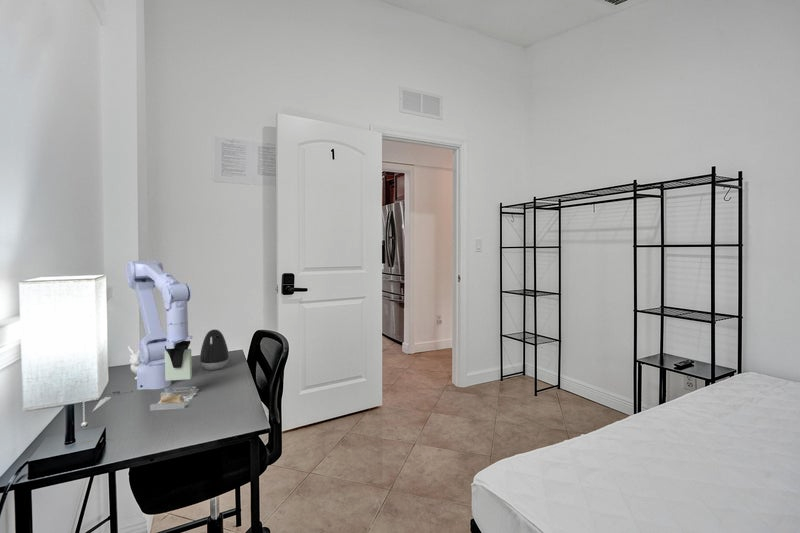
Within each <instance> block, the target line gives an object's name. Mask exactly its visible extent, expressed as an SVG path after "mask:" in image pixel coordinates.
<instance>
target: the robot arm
mask: <svg viewBox="0 0 800 533" xmlns="http://www.w3.org/2000/svg"><path fill="white" fill-rule="evenodd" d="M125 276H126V280H127V284H128V287H129V288H131V289H132V290H134V292H135V295H136V299H137V303H138V306H139V307H138V308H139V311H140V315H141V318H142V319H141V320H142V324H143V328H144V330H145V336H144V337H142V338H141V339H140V341H139V342H138V345H137V346H138V350H139V357H140V360H141V362H143V363H140V364H139V366H138V369H137V374H136V376H137V379H136V390H139V391H140V390H160V389H165V388H169V387H170V386H171V385H172V380H169V381H165V351H167V352H168V354H169V356H170V359H171V362H172V365H173V368H181V366H182V360H183V353H184V350H185V349H189V346H190V345H191V339H193V335H189V318H188V314H189V313H188V302H189V301H190V299H191V296H192V295H191V294H192V292H191V287H190V285H189V284H188V282H180V281H178V280H177V279H176V278H175V277H174V276H173V275H171V273H168V272H164V267H163V263H162V262H161V261H160V260H159V259H155V260H129V261H127V263H126V265H125ZM155 288H156V289H157V290H158V291H159V292H160V293H161V296H162V299H163V304H164V305H163V306H164V309H166V311H165V312H166V332H165V331H164V330H163V328H162V323H161V319H160V315H159V312H158V311H159V310H158V307H157V303H156V299H155V296H154V291H153V289H155Z"/></svg>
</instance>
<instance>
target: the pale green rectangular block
mask: <svg viewBox="0 0 800 533" xmlns="http://www.w3.org/2000/svg"><path fill="white" fill-rule="evenodd" d="M192 358H193V357H192V348H188V349H185V350H184V353H183V360H182V366H181V368H173V365H172V362H171V359H170V356H169V354H168V352H167V351H165V381H169V380H171V381H184V380H191V379H192V378H193V372H192V371H193V367H192V365H193V364H192Z"/></svg>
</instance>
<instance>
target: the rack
mask: <svg viewBox="0 0 800 533" xmlns="http://www.w3.org/2000/svg"><path fill="white" fill-rule="evenodd" d="M199 390H200V388H197V386H195V385H194V386H182V387H181V386H180V387H179V386H177V387H165V388H164V391H161V392H160V399H159V401H158V402H157V403H151V404H149V411H160V410H161V411H163V410H177V409H185V408H186V407H187V405H188V404H189V403H190V402H191V400H192V399H193V398H194V397H195V395H196V394H197V393H198V392H199ZM167 395H182V398H184V402H175V403H160V404H158V403H159V402H160V401H161V398H162V397H163V396H167Z"/></svg>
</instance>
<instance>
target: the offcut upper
mask: <svg viewBox="0 0 800 533" xmlns="http://www.w3.org/2000/svg"><path fill="white" fill-rule="evenodd" d="M181 399H182V395H167V396H163V397H162V398H161V397H160V400H161V403H164V402H179V401H180V400H181Z"/></svg>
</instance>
